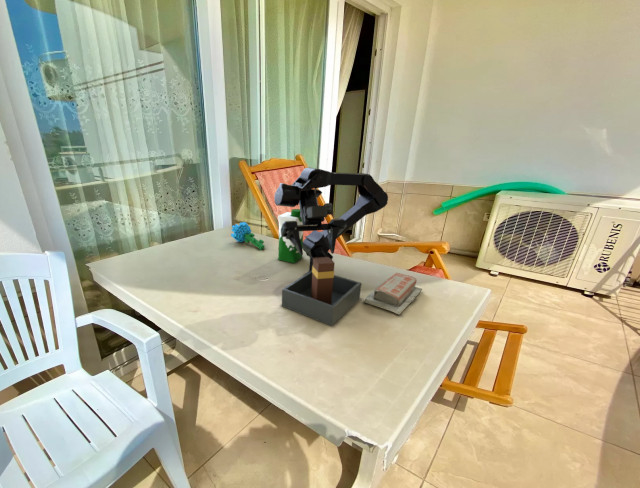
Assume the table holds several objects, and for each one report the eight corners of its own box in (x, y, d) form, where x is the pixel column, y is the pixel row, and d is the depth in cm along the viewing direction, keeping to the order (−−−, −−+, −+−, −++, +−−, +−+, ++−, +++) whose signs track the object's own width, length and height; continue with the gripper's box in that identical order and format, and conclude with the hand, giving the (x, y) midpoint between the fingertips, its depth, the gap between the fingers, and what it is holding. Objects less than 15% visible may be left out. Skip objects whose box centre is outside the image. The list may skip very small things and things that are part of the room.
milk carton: (295, 264, 115) (297, 213, 108) (274, 260, 120) (275, 210, 113) (305, 257, 122) (307, 208, 115) (285, 253, 127) (286, 206, 120)
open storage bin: (312, 284, 100) (313, 269, 98) (359, 299, 90) (361, 282, 88) (281, 305, 88) (281, 289, 86) (331, 326, 78) (333, 307, 76)
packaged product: (390, 268, 98) (424, 277, 91) (388, 282, 99) (421, 292, 93) (365, 288, 86) (402, 300, 79) (363, 303, 88) (399, 316, 81)
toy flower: (253, 258, 131) (229, 239, 143) (268, 253, 137) (243, 235, 148) (256, 241, 127) (231, 222, 138) (272, 236, 132) (246, 219, 143)
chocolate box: (310, 298, 90) (312, 257, 86) (325, 296, 91) (328, 256, 86) (315, 306, 86) (318, 264, 82) (331, 304, 86) (335, 262, 82)
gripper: (284, 194, 86) (291, 244, 80) (347, 191, 87) (359, 241, 82) (277, 213, 96) (284, 259, 91) (335, 211, 98) (344, 256, 92)
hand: (317, 254), depth 88 cm, fingers open, 9 cm apart
